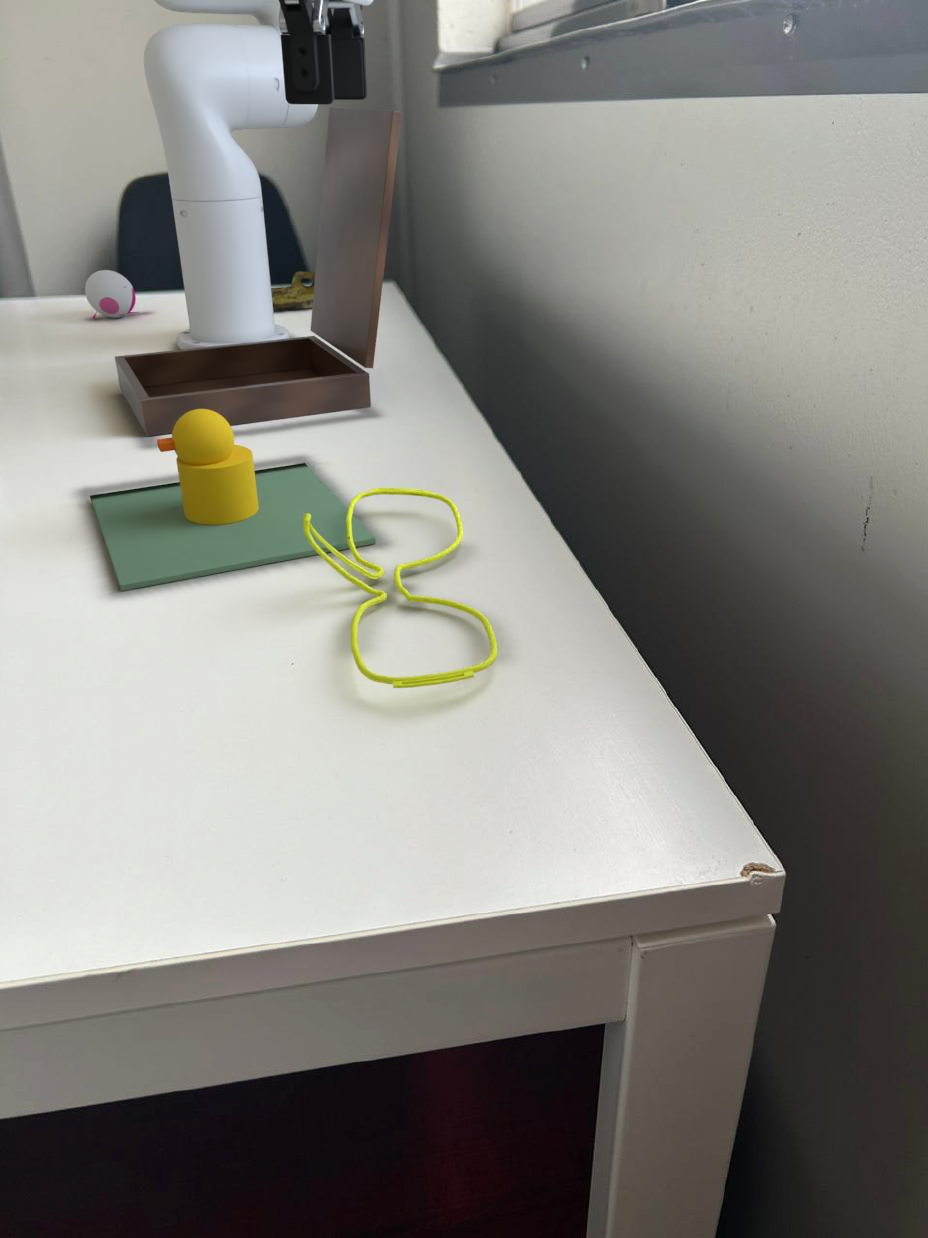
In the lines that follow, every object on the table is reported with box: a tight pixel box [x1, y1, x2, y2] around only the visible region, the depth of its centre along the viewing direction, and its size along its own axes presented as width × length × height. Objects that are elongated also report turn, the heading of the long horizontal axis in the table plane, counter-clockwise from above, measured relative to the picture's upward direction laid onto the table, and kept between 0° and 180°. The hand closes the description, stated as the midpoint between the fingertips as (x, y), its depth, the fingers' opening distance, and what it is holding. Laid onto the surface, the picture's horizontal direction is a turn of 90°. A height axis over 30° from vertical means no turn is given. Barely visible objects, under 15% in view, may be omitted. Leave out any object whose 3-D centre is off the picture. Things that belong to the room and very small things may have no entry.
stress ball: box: [84, 269, 139, 320], centre depth 127 cm, size 8×8×7 cm
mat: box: [89, 462, 377, 592], centre depth 68 cm, size 18×16×1 cm
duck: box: [156, 409, 259, 525], centre depth 66 cm, size 6×5×7 cm
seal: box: [271, 270, 315, 312], centre depth 132 cm, size 9×5×15 cm
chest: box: [114, 335, 372, 438], centre depth 91 cm, size 20×17×4 cm
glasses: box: [303, 487, 499, 689], centre depth 57 cm, size 25×10×5 cm, turn 7°
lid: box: [310, 106, 403, 369], centre depth 89 cm, size 20×17×1 cm
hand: (329, 101), depth 70 cm, fingers open, 9 cm apart
